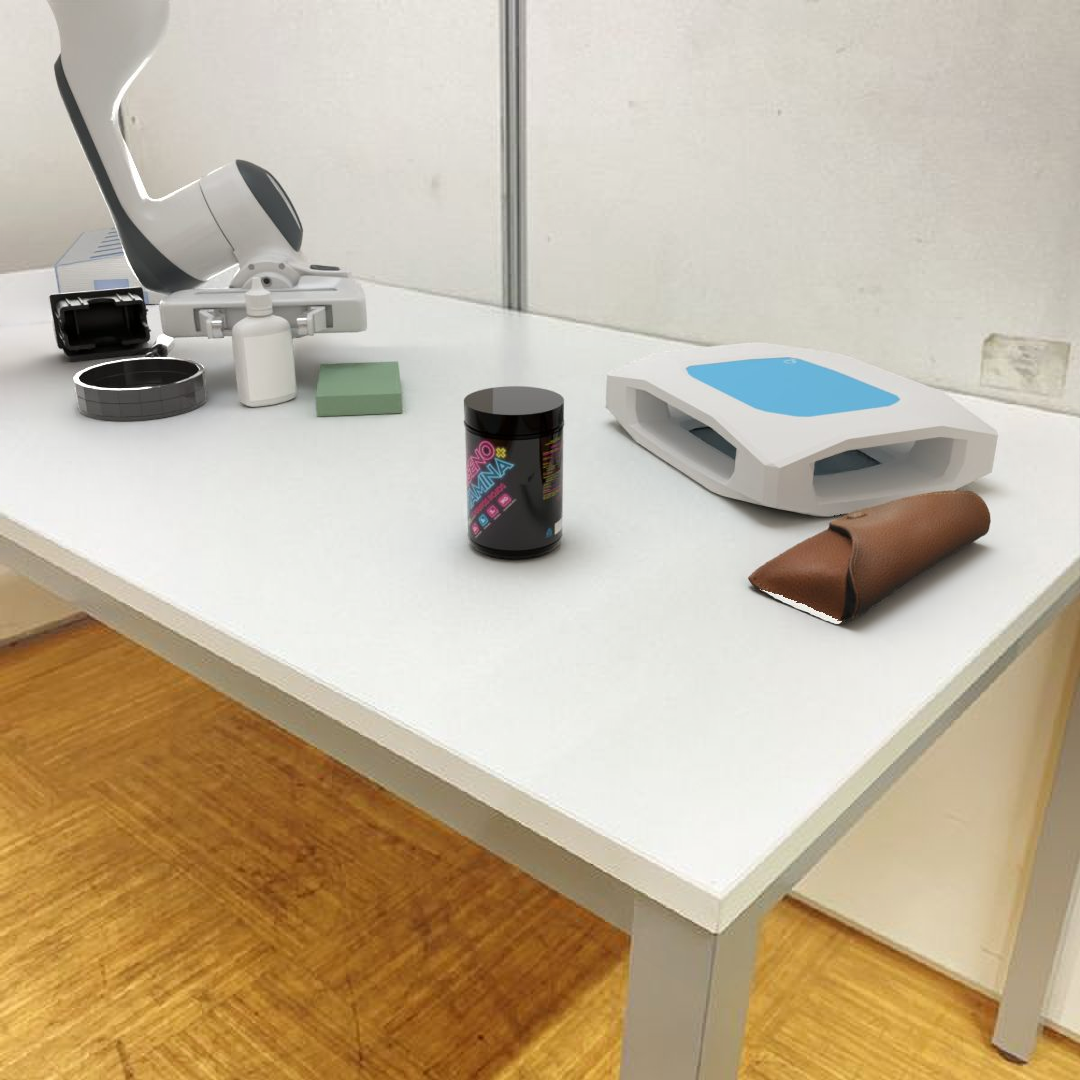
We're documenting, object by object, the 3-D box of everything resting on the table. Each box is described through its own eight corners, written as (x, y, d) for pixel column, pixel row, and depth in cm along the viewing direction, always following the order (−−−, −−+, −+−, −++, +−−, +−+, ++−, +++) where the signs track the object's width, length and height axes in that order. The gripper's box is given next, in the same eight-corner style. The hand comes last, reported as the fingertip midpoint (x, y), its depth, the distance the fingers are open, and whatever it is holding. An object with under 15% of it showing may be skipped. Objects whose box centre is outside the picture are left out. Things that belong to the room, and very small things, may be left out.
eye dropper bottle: (297, 405, 110) (286, 281, 105) (238, 408, 109) (224, 283, 104) (297, 392, 114) (286, 272, 109) (239, 396, 113) (226, 274, 108)
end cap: (146, 339, 135) (137, 282, 132) (156, 352, 129) (148, 293, 126) (56, 348, 130) (46, 290, 128) (63, 362, 125) (52, 301, 122)
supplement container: (474, 522, 83) (471, 384, 79) (566, 526, 82) (568, 387, 78) (460, 560, 77) (455, 413, 72) (559, 565, 76) (560, 416, 72)
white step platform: (766, 529, 82) (773, 447, 79) (601, 421, 105) (603, 355, 103) (995, 490, 89) (1008, 413, 86) (792, 397, 113) (798, 335, 110)
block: (317, 416, 107) (315, 396, 106) (321, 382, 117) (320, 363, 117) (402, 413, 108) (401, 393, 107) (399, 379, 118) (398, 361, 118)
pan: (65, 423, 104) (59, 392, 103) (93, 388, 115) (89, 359, 114) (198, 418, 106) (194, 387, 105) (214, 383, 117) (211, 355, 116)
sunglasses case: (878, 506, 84) (932, 443, 80) (948, 574, 82) (1007, 513, 77) (738, 581, 72) (792, 513, 68) (815, 663, 70) (875, 598, 66)
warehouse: (88, 269, 177) (80, 219, 174) (184, 265, 180) (178, 216, 177) (61, 308, 150) (51, 250, 147) (173, 303, 154) (166, 246, 150)
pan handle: (143, 371, 116) (141, 354, 115) (159, 348, 124) (157, 332, 124) (161, 371, 116) (159, 354, 115) (176, 348, 125) (174, 332, 124)
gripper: (166, 271, 118) (142, 298, 105) (364, 267, 120) (364, 292, 108) (174, 332, 120) (151, 364, 107) (368, 326, 123) (368, 357, 110)
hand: (260, 328), depth 108 cm, fingers open, 7 cm apart
